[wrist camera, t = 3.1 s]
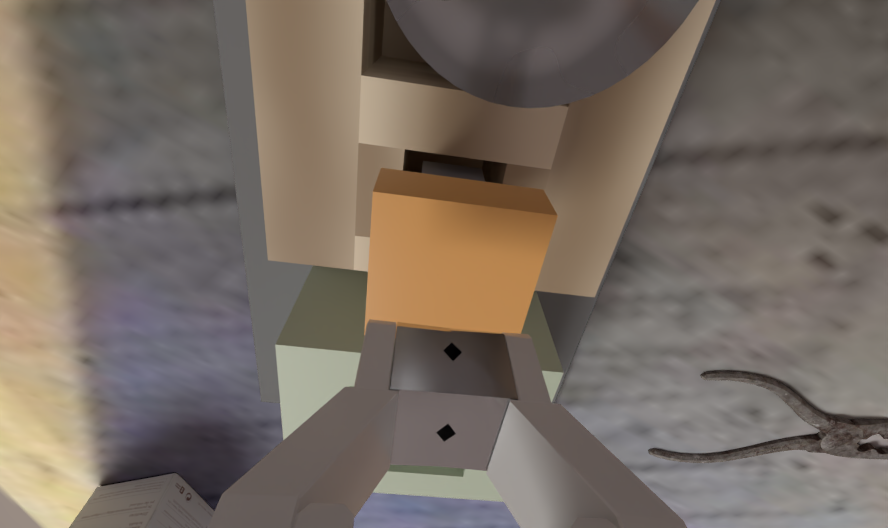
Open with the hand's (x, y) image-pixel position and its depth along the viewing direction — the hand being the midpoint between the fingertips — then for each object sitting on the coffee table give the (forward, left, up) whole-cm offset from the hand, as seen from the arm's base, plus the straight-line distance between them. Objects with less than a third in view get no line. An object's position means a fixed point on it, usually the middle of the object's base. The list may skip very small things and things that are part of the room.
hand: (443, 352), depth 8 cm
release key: (0, 0, -8) cm, 8 cm away
